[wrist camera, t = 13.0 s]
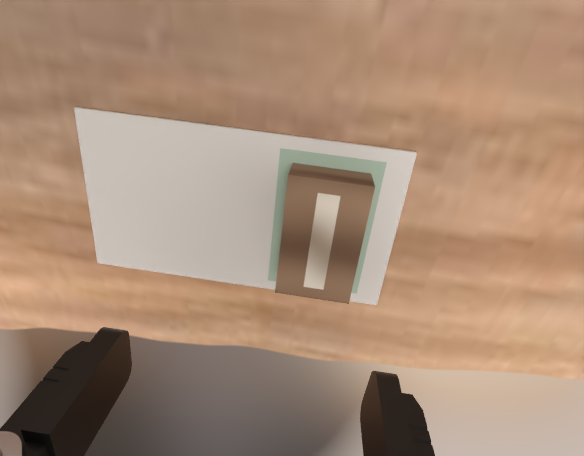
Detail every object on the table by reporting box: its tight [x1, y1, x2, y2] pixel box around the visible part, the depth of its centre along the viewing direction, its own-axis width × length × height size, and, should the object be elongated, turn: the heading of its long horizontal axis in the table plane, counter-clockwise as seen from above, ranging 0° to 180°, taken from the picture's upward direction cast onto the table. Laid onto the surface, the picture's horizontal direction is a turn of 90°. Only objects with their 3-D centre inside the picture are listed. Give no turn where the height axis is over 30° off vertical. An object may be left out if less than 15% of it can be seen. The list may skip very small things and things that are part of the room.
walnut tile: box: [275, 163, 375, 304], centre depth 29 cm, size 10×6×3 cm, turn 173°
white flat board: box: [74, 107, 417, 305], centre depth 31 cm, size 26×14×1 cm, turn 84°
